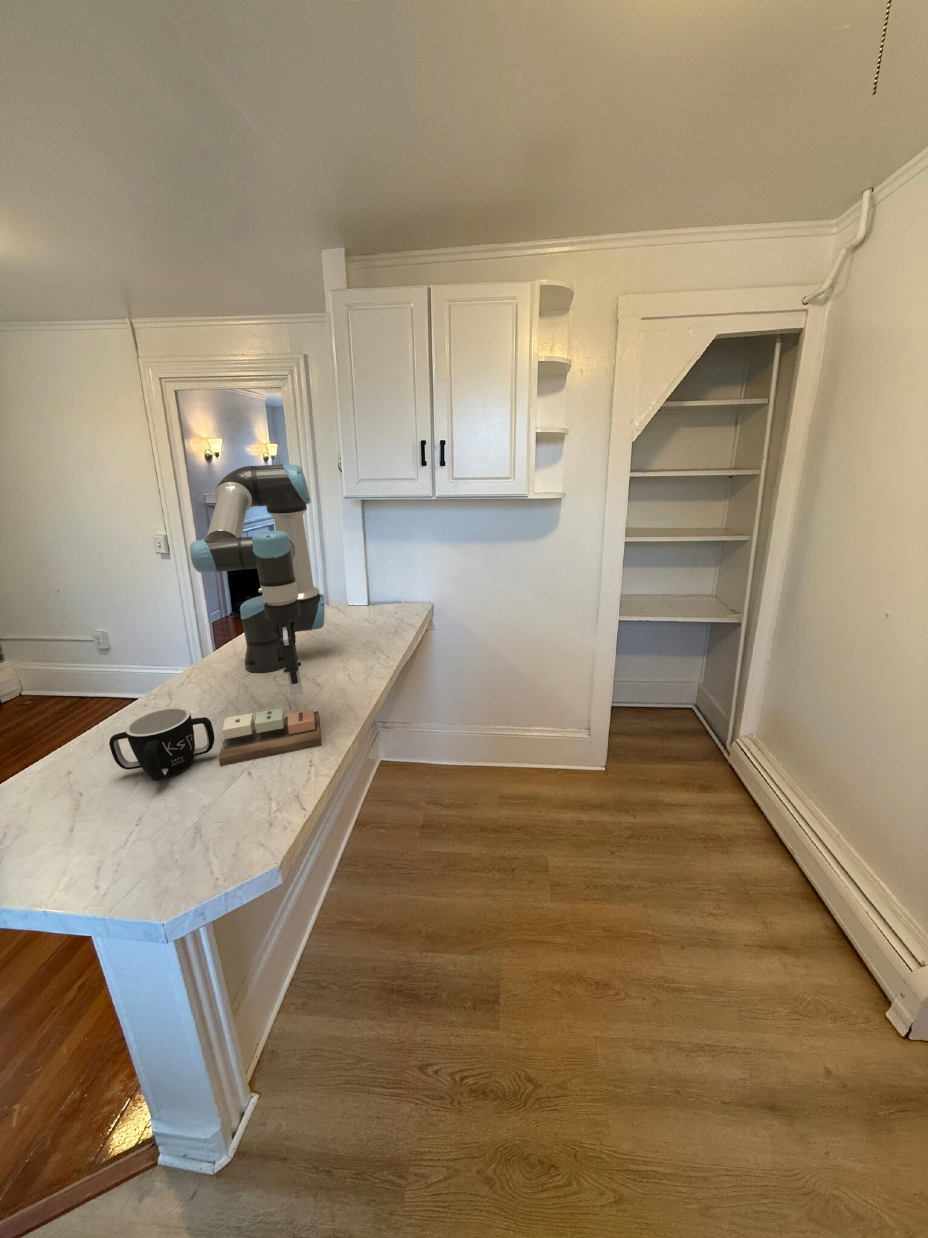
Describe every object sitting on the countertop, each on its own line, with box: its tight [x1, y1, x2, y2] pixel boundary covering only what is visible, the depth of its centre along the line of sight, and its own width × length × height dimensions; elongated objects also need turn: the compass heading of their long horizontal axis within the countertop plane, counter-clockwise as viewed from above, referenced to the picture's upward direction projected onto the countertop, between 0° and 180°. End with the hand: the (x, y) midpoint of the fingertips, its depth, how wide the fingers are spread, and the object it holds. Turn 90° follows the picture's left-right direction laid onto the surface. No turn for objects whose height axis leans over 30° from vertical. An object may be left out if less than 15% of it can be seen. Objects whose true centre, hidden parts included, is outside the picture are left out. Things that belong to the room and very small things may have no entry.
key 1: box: [221, 712, 255, 740], centre depth 112 cm, size 6×6×3 cm
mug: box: [109, 707, 215, 782], centre depth 105 cm, size 16×16×12 cm
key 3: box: [287, 708, 315, 734], centre depth 117 cm, size 6×6×3 cm
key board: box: [218, 710, 322, 767], centre depth 116 cm, size 14×22×2 cm, turn 108°
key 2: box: [254, 707, 285, 733], centre depth 114 cm, size 6×6×3 cm
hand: (297, 693), depth 115 cm, fingers closed
